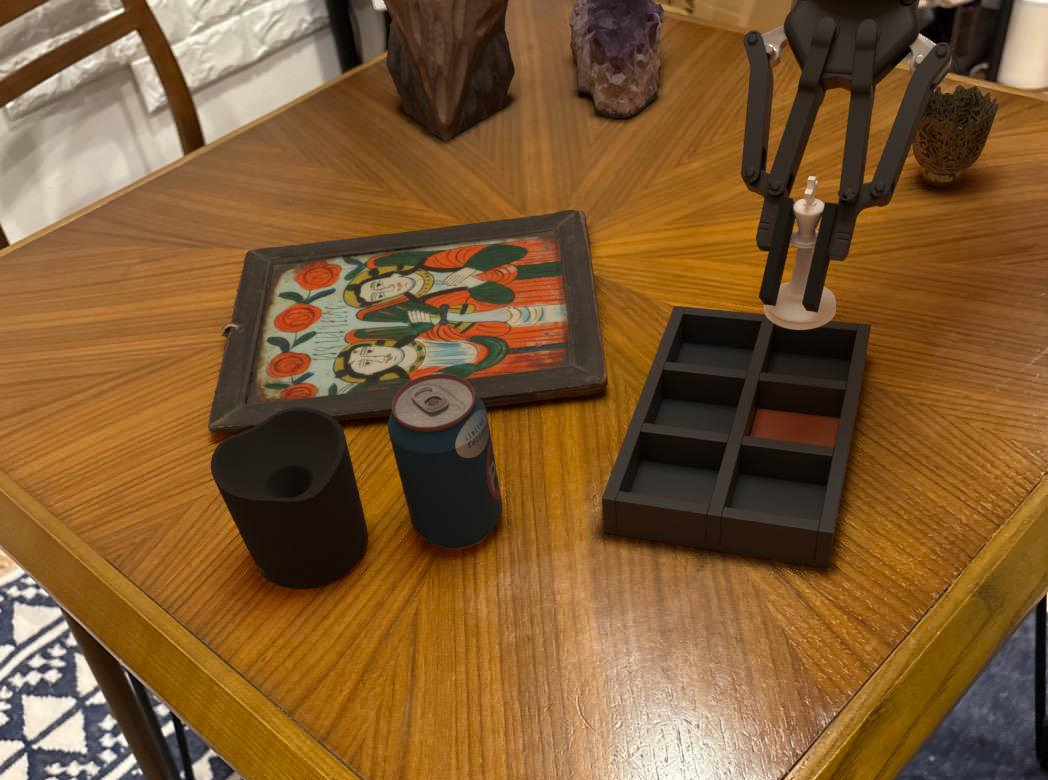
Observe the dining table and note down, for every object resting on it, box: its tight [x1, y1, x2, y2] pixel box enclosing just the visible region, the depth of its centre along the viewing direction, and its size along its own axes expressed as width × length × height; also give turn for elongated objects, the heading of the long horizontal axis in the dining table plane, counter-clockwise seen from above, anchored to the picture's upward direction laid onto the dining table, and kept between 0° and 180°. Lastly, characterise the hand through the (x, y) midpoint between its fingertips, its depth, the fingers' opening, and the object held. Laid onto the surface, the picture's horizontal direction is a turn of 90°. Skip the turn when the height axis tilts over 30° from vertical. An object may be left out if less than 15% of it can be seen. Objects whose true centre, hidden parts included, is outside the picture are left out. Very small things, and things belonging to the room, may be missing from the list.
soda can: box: [387, 374, 503, 550], centre depth 79 cm, size 7×7×12 cm
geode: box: [568, 0, 665, 119], centre depth 127 cm, size 20×12×10 cm, turn 2°
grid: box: [601, 305, 872, 569], centre depth 84 cm, size 16×24×4 cm
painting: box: [207, 209, 609, 434], centre depth 101 cm, size 28×35×2 cm
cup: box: [911, 84, 1000, 188], centre depth 105 cm, size 8×7×8 cm
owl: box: [382, 0, 516, 142], centre depth 123 cm, size 13×13×20 cm
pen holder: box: [210, 407, 369, 591], centre depth 79 cm, size 9×9×10 cm
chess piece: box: [763, 175, 837, 330], centre depth 73 cm, size 5×5×10 cm
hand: (788, 304), depth 73 cm, fingers closed on chess piece, 2 cm apart
